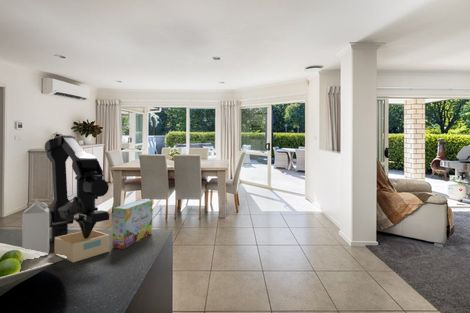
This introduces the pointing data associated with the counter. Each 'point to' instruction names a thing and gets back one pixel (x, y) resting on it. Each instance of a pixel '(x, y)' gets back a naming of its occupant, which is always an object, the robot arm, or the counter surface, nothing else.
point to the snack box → (131, 222)
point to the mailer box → (65, 242)
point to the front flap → (90, 248)
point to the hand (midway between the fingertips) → (86, 238)
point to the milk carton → (36, 227)
